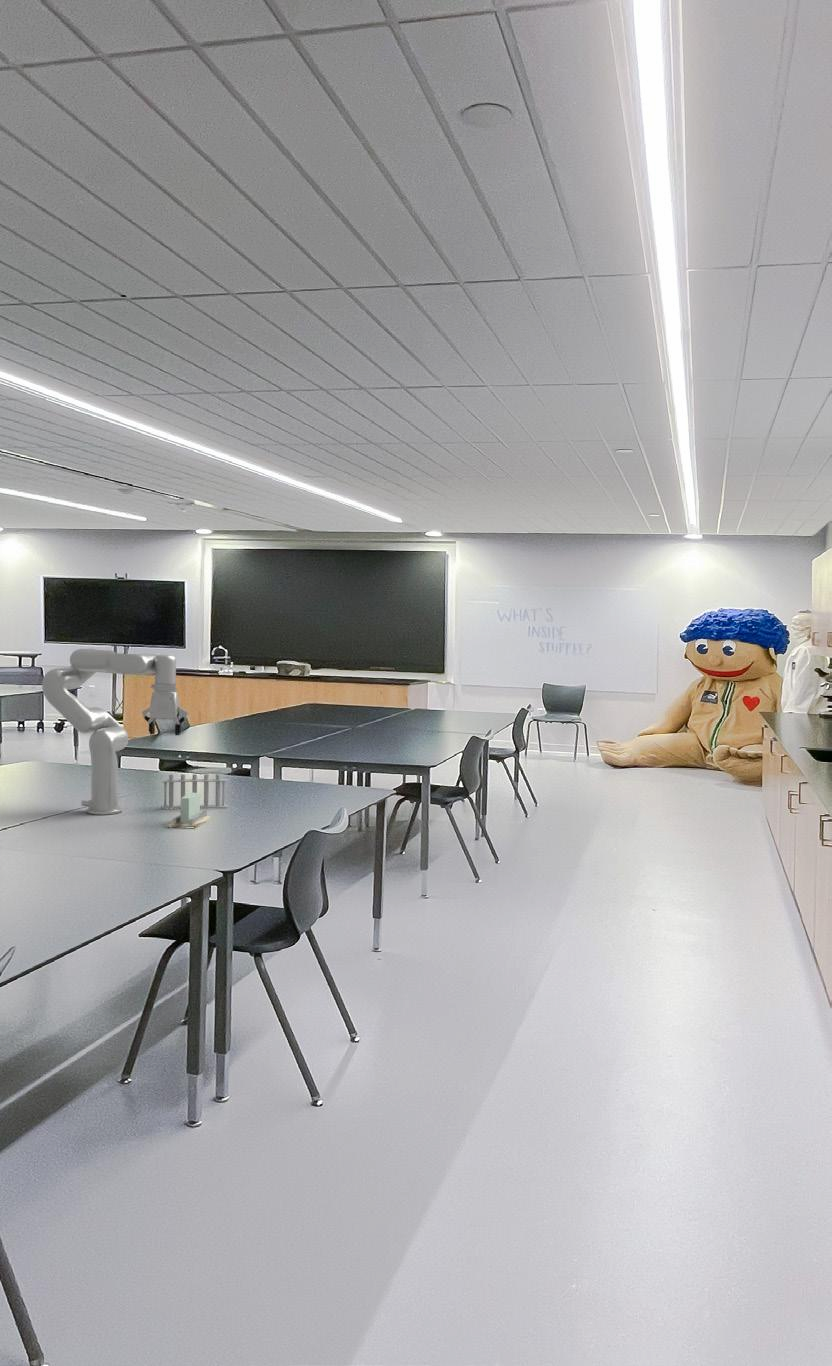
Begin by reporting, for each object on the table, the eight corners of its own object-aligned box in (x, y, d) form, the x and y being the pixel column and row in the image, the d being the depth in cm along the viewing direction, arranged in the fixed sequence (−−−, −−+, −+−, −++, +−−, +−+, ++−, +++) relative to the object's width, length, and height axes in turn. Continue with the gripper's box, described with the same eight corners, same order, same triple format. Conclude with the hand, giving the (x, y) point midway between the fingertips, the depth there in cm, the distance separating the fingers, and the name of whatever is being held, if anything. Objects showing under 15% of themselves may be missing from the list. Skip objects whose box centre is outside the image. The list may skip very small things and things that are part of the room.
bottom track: (167, 827, 347) (167, 819, 347) (185, 817, 365) (185, 809, 365) (195, 828, 346) (195, 820, 346) (211, 819, 364) (211, 810, 364)
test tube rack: (227, 806, 390) (227, 773, 390) (227, 808, 386) (227, 774, 385) (161, 807, 385) (161, 773, 385) (161, 809, 381) (161, 775, 380)
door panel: (180, 823, 349) (180, 798, 349) (191, 817, 361) (192, 792, 361) (188, 823, 349) (188, 798, 349) (199, 817, 361) (200, 792, 361)
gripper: (138, 688, 363) (138, 734, 364) (184, 689, 361) (184, 736, 362) (146, 687, 371) (146, 732, 372) (191, 688, 369) (190, 734, 370)
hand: (164, 734), depth 367 cm, fingers open, 9 cm apart
